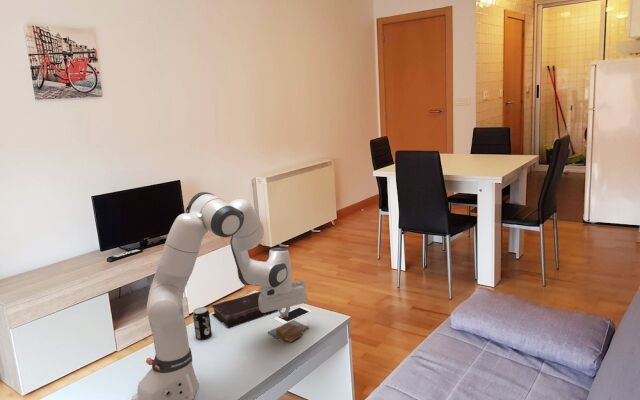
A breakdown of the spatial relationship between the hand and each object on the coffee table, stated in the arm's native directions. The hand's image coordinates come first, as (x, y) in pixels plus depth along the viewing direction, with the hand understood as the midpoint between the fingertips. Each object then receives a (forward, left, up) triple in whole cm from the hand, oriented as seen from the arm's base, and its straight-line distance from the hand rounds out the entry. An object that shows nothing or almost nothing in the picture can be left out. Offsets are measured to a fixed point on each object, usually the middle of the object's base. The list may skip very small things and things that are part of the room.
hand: (284, 316), depth 211 cm
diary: (0, +29, -8) cm, 30 cm away
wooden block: (-1, -9, -5) cm, 10 cm away
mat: (+1, 0, -7) cm, 7 cm away
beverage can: (-25, +24, -7) cm, 35 cm away
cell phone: (+12, +10, -8) cm, 17 cm away
